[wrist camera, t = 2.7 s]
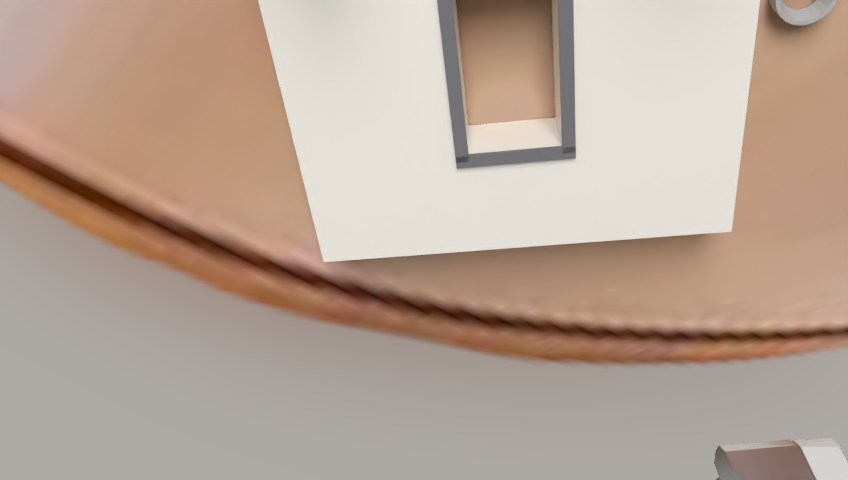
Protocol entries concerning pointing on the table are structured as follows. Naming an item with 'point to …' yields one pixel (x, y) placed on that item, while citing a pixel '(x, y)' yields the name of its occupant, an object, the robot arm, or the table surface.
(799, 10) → the adjustable wrench
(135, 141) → the table surface
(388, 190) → the socket plate
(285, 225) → the table surface
